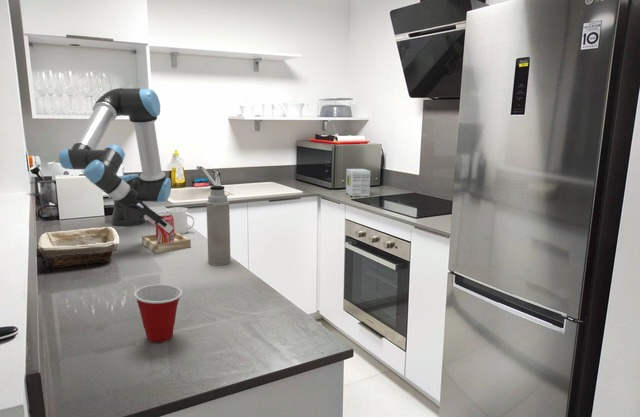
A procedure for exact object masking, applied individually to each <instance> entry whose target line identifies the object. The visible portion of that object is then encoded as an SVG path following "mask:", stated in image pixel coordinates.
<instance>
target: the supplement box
mask: <svg viewBox="0 0 640 417" xmlns="http://www.w3.org/2000/svg"><path fill="white" fill-rule="evenodd" d="M345 173H346V174H345V175H346V176H345V177H346V178H345V194H346V193H348V194H350V195H369V196H370V191H371V190H370V189H371V188H370V187H371V170H368V169H366V168H346V172H345Z"/></svg>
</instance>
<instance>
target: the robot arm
mask: <svg viewBox="0 0 640 417" xmlns="http://www.w3.org/2000/svg"><path fill="white" fill-rule="evenodd" d="M92 111H93V112H92V113H91V115H90V117H89V118H88V120H87V121H86V123H85V125H84V126H83V128H82V130H81V132H80V133H79V135H78V137H77V138H76V141H75V142H74V143H73V145H72V147H71V148H66V149H65V148H64V149H61V151H60V152H59V156H58V161H59V164H60V166H61V167H62V168H64V169H66V170H83V176H84V177H85V178H86V179H87V180H89V181H90V183H91V184H93V185H94V186H96V187H97V188H99V189H100V190H101V191H102V192H104V193H105V194H107V195H108V199H111V198H112V199H113V212H112V215H111V219H110V222H111V225H113V226H119V227H120V226H121V227H125V226H128V227H129V226H135V225H140V224H144V223H145V221H146V220H147V221H148V222H150V223H151V224H153V225H154V226H155V227H156V225H157V224H158V225H159V226H160V227H162V228H163V229H164V230H165V231H167V232H168V233H170V232H171V230H172V229H173V227H172V226H171V225H170V224H168V223H167V222H166V221H165V220H163V219H162V217H160V216H159V215H158V213H157V212H155V211H154V210H152V209H151V208H150V207H149V206H148V205H146V204H145V202H146V203H147V202H149V203H162V202H163V203H165V202H167V201H168V200H169V197H170V196H171V192H172V180H171V178H169V177H167V176H166V173H165V171H163V170H162V165H161V160H160V159H161V158H160V151H159V145H158V140H157V132H156V131H157V130H156V125H155V122H156V121H157V120H158V116H160V114H161V103H160V98H159V96H158V94H157V93H156V92H155V90H153V89H151V88H141V87H140V88H138V87H137V88H132V87H131V88H123V87H121V88H120V87H118V88H113V89H110V90H109V91H106V92H105V93H103V95H101V96H100V97H99V98H98V99H97V100H96V101H95V102H94V105H93V106H92ZM118 116H119V117H121V116H125V117H126V116H128V118H129V122H130V123H132V124H133V126H134V127H133V128H134V131H135V136H136V137H135V138H136V143H137V149H138V154H139V161H140V167H141V171H142V173H141V174H140V175H139V174H136V173H132V174H126V175H120V176H118V171H119V169H120V167H121V166H122V164H123V163H124V159H125V156H126V154H125V151H124V149H123V148H122V147H121V146H119V145H117V144H108V145H107V146H105V148H104V149H97V148H98V146H99V144H100V142H101V140H102V138H103V137H104V135H105V133H106V131H107V130H108V128H109V126H110V124H111V122H113V121H114V120H115V119H116V118H117V117H118ZM157 218H158V219H157ZM156 219H157V220H156Z"/></svg>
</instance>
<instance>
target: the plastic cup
mask: <svg viewBox="0 0 640 417" xmlns="http://www.w3.org/2000/svg"><path fill="white" fill-rule="evenodd" d="M133 295H134V299H136V301H137V302H136V303H137V305H138V306H137V307H138V309H139V313H140V318H141V321H142V325H143V328H144V331H145V336H146V338H147V340H148V342H149V341H151V342H150V343H152V342H162V343H164V342H163V341H165V342H167V341H166V340H168V339H170V338H171V337H172V338H173V335H174V329H175V328H174V326H175V322H176V315H177V310H178V309H177V308H178V304H179V301H180V298H181V296H182V295H183V290H182V289H181V288H180V287H177V286H175V285H171V284H165V283H163V284H162V283H161V284H160V283H159V284H158V283H157V284H156V283H155V284H149V285H145V286H142V287H139V288H138V289H136V290H135V291H134V293H133ZM172 338H171V339H172ZM171 339H170V340H171ZM168 341H169V340H168Z"/></svg>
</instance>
